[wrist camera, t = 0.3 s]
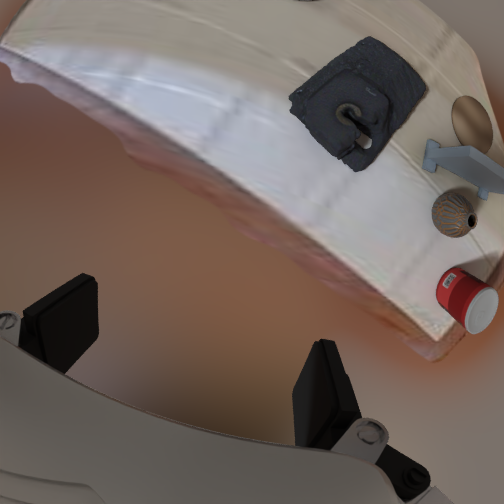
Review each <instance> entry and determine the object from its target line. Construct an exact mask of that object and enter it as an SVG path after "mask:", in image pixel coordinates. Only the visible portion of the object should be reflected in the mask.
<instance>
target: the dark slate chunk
mask: <svg viewBox="0 0 504 504" xmlns="http://www.w3.org/2000/svg"><path fill="white" fill-rule="evenodd" d="M425 90H426V86H425V83H424V82H423V81H422V79H421V78H420V77H419V75H418V74H417V73H416V72H415V71H414V70H413V68H412V67H411V66H410V65H409V64H408V63H407V62H406V61H405V60H404V59H403V58H401V57H400V56H399V55H398V54H397V53H396V52H394V51H393V50H391V49H390V48H389V47H387V46H386V45H385V44H383V43H382V42H381V41H379V40H376V39H374V38H373V37H371V36H369V37H366V38H364V39H363V40H360V41H359V42H358V43H357V44H356V45H355V46H353V47H350V48H349V49H347V50H346V51H345V52H344V53H342V54H340V55H339V56H338V57H336V58H334V60H332V61H330V62H329V63H328V64H327V66H324V67H323V68H322V69H321V70H319V71H318V72H317V73H316V74H315V75H313V76H312V77H311V78H310V79H309V80H308V81H306V82H305V83H304V84H303V85H302V86H300V87H299V88H297V89H296V90H295V91H294V92H293V93H292V94H291V95H290V96H289V100H290V101H292V107H291V109H290V110H289V111H290V113H292V114H293V115H295V116H296V117H297V118H298V119H299V120H300V121H301V122H302V123H303V124H304V125H306V126H305V127H306V128H307V129H308V130H309V131H310V134H311V135H312V136H313V137H314V138H315V139H316V141H317V142H318V143H320V144H321V145H322V146H323V147H324V148H325V149H326V150H327V151H328V152H329V153H330V154H331V155H332V156H335V157H337V159H338V160H340V159H342V161H343V163H344V164H347V165H348V166H349V167H350V168H351V169H353V171H354V172H358V171H362V170H364V169H365V168H366V166H368V165H369V164H370V163H371V162H372V161H373V160H374V158H375V157H376V155H377V154H378V153H379V152H380V151H381V150H382V148H383V147H384V145H385V144H386V142H387V141H388V140H389V138H390V137H391V135H392V133H394V131H395V130H396V129H398V128H399V126H400V125H401V124H402V123H403V122H404V121H405V119H406V117H407V115H408V113H409V112H410V111H411V109H412V107H414V105H415V104H416V102H417V101H418V100H419V99H420V98H421V97H422V96H423V93H424V91H425ZM358 129H359V130H360V131H361V132H363V133H364V134H366V135H367V136H368V137H369V138H371V139H372V145H371V147H370V148H368V149H363V148H361V146H360V145H359V144H358V143H357V142H356V141H355V140H356V139H358V138H359V137H360V135H361V132H360V131H359V130H358Z"/></svg>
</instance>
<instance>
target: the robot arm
mask: <svg viewBox="0 0 504 504" xmlns="http://www.w3.org/2000/svg"><path fill="white" fill-rule="evenodd" d="M302 1H310V0H302ZM23 316H24V317H23V318H22V319H21V318H20V316H19V315H18V314H17V313H16V312H13V311H2V312H0V504H454V503H453V502H452V501H451V500H449V499H448V498H447V497H446V496H445V495H444V494H443V493H442V492H441V491H440V490H439V489H438V488H437V487H436V486H434V487H433V488H432V487H431V486H430V481H431V480H430V475H429V472H428V471H427V469H426V468H425V467H423V466H422V465H420V464H419V463H417V462H415V461H413V460H412V459H410V458H409V457H407V456H405V455H404V454H402V453H400V452H399V451H397V450H396V449H394V448H392V447H391V446H389V445H388V444H387V442H388V439H389V434H388V431H387V429H386V428H385V427H384V425H383V424H381V423H380V422H379V421H377V420H374V419H371V418H362V416H361V412H360V409H359V406H358V403H357V400H356V397H355V394H354V391H353V388H352V385H351V382H350V379H349V377H348V375H347V374H346V373H345V370H344V367H343V364H342V361H341V358H340V355H339V352H338V349H337V347H336V344H335V342H334V341H332V340H326V339H320V340H319V342H318V341H315V342H314V344H313V346H312V349H311V351H310V353H309V356H308V358H307V360H306V362H305V365H304V367H303V369H302V371H301V373H300V376H299V378H298V380H297V382H296V384H295V386H294V389H293V393H292V400H293V414H294V429H295V446H292V445H284V444H277V443H270V442H264V441H258V440H253V439H247V438H242V437H237V436H232V435H227V434H223V433H218V432H214V431H210V430H206V429H202V428H198V427H195V426H191V425H187V424H184V423H181V422H178V421H174V420H171V419H168V418H165V417H162V416H159V415H156V414H153V413H150V412H147V411H145V410H142V409H139V408H137V407H134V406H132V405H129V404H127V403H124V402H122V401H119V400H117V399H115V398H112V397H110V396H108V395H106V394H103V393H101V392H99V391H97V390H94V389H92V388H90V387H88V386H86V385H84V384H82V383H80V382H78V381H76V380H74V379H73V378H71V377H69V376H67V375H65V373H66V372H67V371H68V370H69V369H70V367H71V366H72V365H73V364H74V363H75V362H76V361H77V360H78V359H79V358H80V357H81V356H82V355H83V353H84V352H85V351H86V350H87V349H88V348H89V347H90V346H91V345H92V344H93V343H94V342H95V341H96V339H97V338H98V335H99V326H98V325H99V324H98V283H97V282H96V281H95V278H94V277H93V276H90V275H87V274H85V273H82V274H80V275H78V276H76V277H75V278H73V279H72V280H70V281H68V282H67V283H65V284H64V285H62V286H60V287H59V288H57V289H55V290H54V291H52V292H51V293H49V294H48V295H46V296H44V297H43V298H41V299H40V300H38V301H37V302H35V303H34V304H32V305H31V306H30V307H28V308H26V309H25V310H23Z"/></svg>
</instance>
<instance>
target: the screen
mask: <svg viewBox="0 0 504 504" xmlns="http://www.w3.org/2000/svg"><path fill="white" fill-rule="evenodd" d="M436 164H437V165H439V166H441V167H443V168H445V169H447V170H449V171H451V172H453V173H455V174H456V175H458V176H460V177H462V178H464V179H466V180H467V181H469V182H471V183H473V184H474V185H476V186H478V187H479V191H478V197H479V198H481V199H483V200H486V201H487V198H488V192H494V193H499V194H504V168H502V167H501V166H500V165H498V164H497V163H496V162H494V161H493V160H492V159H490V158H489V157H487V156H486V155H484V154H483V153H481V152H480V151H478V150H477V149H475V148H474V147H472V146H458V147H447V148H439V144H438V143H436V142H434V141H432V140H430V139H429V140H427V144H426V150H425V156H424V161H423V166H422V169H425V170H427V171H429V172H431V173H435V168H436Z"/></svg>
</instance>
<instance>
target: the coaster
mask: <svg viewBox="0 0 504 504" xmlns="http://www.w3.org/2000/svg"><path fill="white" fill-rule="evenodd" d="M452 123H453V127H454V131H455V133H456V135H457V137H458V139H459V141H460V143H461V144H462V145H463V146H472V147H474V148H475V149H477V150H478V151H480V152H481V153H483V154H485V153H486V152H487V151H488V150H489V149H490V147H491V144H492V140H493V130H492V124H491V121H490V118H489V116H488V114H487V112H486V110H485V109H484V107H483V106H482V105H481V104H480V103H479V102H478V101H477V100H476V99H474V98H473V97H470V96H462V97H459V98H458V99H456V101H455V102H454V104H453V107H452Z"/></svg>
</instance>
